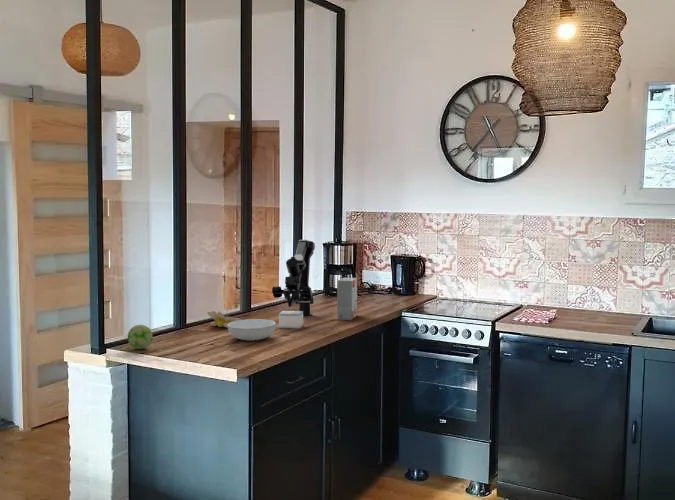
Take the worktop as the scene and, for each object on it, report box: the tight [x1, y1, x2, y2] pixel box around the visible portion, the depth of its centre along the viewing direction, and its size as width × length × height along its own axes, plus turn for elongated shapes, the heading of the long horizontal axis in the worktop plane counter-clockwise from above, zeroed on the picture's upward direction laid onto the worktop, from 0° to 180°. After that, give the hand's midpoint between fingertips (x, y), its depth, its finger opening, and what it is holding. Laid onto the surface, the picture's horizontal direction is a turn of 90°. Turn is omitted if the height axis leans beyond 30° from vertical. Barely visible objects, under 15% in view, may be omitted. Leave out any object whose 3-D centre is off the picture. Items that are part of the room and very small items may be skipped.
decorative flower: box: [206, 310, 241, 328], centre depth 326 cm, size 15×11×10 cm
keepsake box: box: [278, 313, 304, 329], centre depth 325 cm, size 8×10×6 cm
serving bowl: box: [227, 318, 277, 342], centre depth 298 cm, size 21×21×7 cm
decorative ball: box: [127, 324, 153, 350], centre depth 278 cm, size 10×10×10 cm
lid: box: [278, 310, 303, 316], centre depth 325 cm, size 8×10×1 cm
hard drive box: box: [336, 277, 358, 321], centre depth 349 cm, size 16×8×20 cm, turn 168°
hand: (289, 306), depth 322 cm, fingers closed
